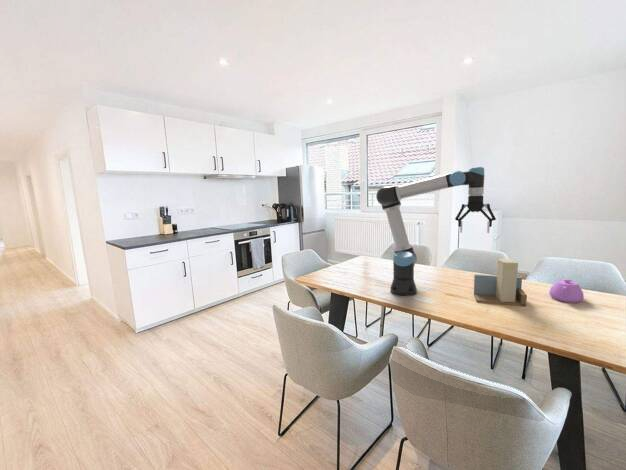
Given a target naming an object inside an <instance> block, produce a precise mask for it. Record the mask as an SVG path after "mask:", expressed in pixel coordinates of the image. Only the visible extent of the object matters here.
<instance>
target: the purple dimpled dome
mask: <svg viewBox="0 0 626 470" xmlns="http://www.w3.org/2000/svg"><path fill="white" fill-rule="evenodd" d="M548 292H549V296H550V297H551V298H552V299H554V300H556V301H559V302H564V303H570V304H571V303H572V304H577V302H578V303H580V302H582V301H583V300H585V299H584V298H585V296H584V291H583V290H582V288H581V287H580V285H579V284H578V283H577V282H574V281H573V280H571V279H568V278H563V279H562V280H557V281H555V283H554V284H552V286H551V287H550V289H549V291H548Z"/></svg>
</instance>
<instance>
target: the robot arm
mask: <svg viewBox="0 0 626 470" xmlns="http://www.w3.org/2000/svg"><path fill="white" fill-rule="evenodd" d="M459 186H468V192H467V193H468V194H467V195H468V196H467V204H464V203H462V204H461V208H460V209H459V211H458V213H457V214H456V215H455V218H454V220H455V221H458V227H459V229H460V230H459V233H461V234H462V233H463V219H464V218H465V217H466V216H467V215H468V214H469V213H470V212H471V213H475V212H476V213H479V212H480V213H482V215H483V216H485V218H486V219H487V222H486V223H487V224H486V233H487V234H490V228H491V227H492V225H493V224H492V223H493V221H496V220H497V218H496V217H495V215H494V213H493V211H492V209H491V205H490V203H484V190H485V168H484V167H483V166H476V167H469V169H468V171H461V170H456V171H453V172H452V171H451V172H447V173H444V174H442V175H437V176H433V177H428V178H425V179H422V180H418V181H413V182H410V183H406V184H401V185H397V184H394V185H386V186H382V187H380V188H378V190H377V191H376V201H377V203H378V204H380V205H381V208H382V210H383V211H384V212H385V213H386V217H387V221H388V224H389V229H390V231H391V235H392V238H393V243H394V246H395V248H394V249H393V252H394V254H393V259H392V260H393V263H392V264H393V279H392V282H391V285H390V293H392V294H394V295H396V296H403V297H406V296H408V297H409V296H414V295H415V294H417V293H418V288H417V286H416V282H415V279H414V277H415V276H414V275H415V274H414V273H415V265H416V264H417V262H418V261H417V259H418V258H417V254H416V252H415V250H414V247H413V245H412V244H410V242H409V237H408V235H407V231H406V227H405V224H404V221H403V219H404V218H403V216H402V213H401V209H400V207H401V206H402V203H401V200H403V199H407V198H411V197H415V196H416V197H417V196H419V195H424V194H428V193H432V192H436V191H441V190H445V189H448V188H449V189H450V188H453V187H459ZM484 207H485V208H486V209H487V211H488V213H489V215H490V216H489V215H488V213H486V211H485V210H484V209H483V208H484ZM466 208H467V210H466V211H465V212H464V213H463V211H464V209H466ZM462 213H463V214H462Z"/></svg>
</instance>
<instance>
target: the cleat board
mask: <svg viewBox="0 0 626 470" xmlns="http://www.w3.org/2000/svg"><path fill="white" fill-rule="evenodd" d="M473 277H474V278H473V279H474V280H473V297H474V299H475V302H476V303H481V304H482V303H483V304H491V305H492V304H493V305H503V306H505V305H506V306H514V307H515V306H516V307H525V308H526V307H527V297H528V295H527V294H526V292H525V291H524V290H523V289H522V285H523V283H522V282H523V277H522V276H517V284H516V297H515V302H501V301H500V300H499V299H498V298H497V297H496V283H497V274H496V275H494V274H479V273H474V276H473Z"/></svg>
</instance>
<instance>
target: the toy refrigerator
mask: <svg viewBox="0 0 626 470" xmlns="http://www.w3.org/2000/svg"><path fill="white" fill-rule="evenodd" d="M518 267H519V263H518V262H517V261H515V260H514V259H512V258H498V259H497V267H496V268H497V270H496V273H497V274H496V275H497V283H496V297H497V298H498V299H499V300H500V301H501V302H515V297H516V284H517V277H518V272H519V271H518Z"/></svg>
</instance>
